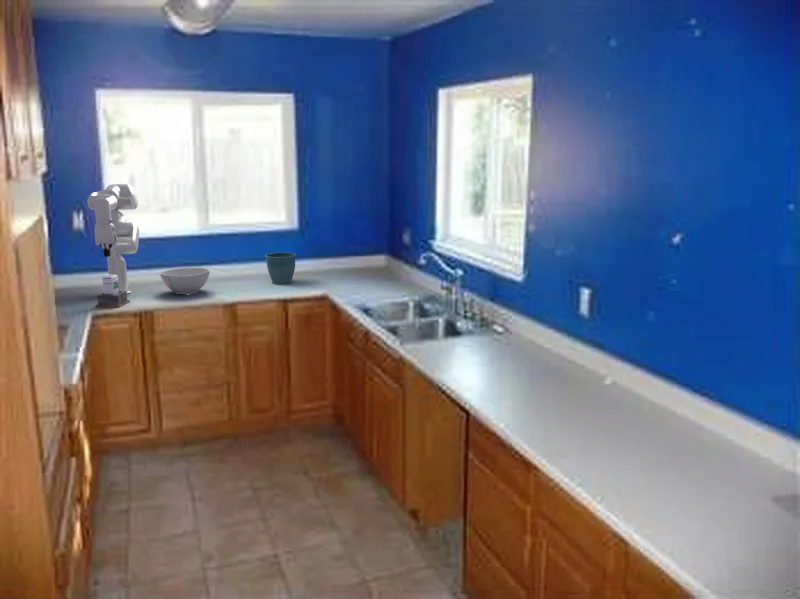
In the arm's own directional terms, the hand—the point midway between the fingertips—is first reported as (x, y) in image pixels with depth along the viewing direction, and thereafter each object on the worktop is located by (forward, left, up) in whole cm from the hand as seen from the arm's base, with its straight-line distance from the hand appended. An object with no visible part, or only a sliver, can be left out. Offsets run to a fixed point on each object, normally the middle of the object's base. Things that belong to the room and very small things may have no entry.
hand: (107, 256), depth 377 cm
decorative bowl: (-26, +31, -25) cm, 48 cm away
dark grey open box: (+5, +3, -25) cm, 25 cm away
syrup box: (+5, +3, -24) cm, 25 cm away
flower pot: (-58, +78, -25) cm, 100 cm away
